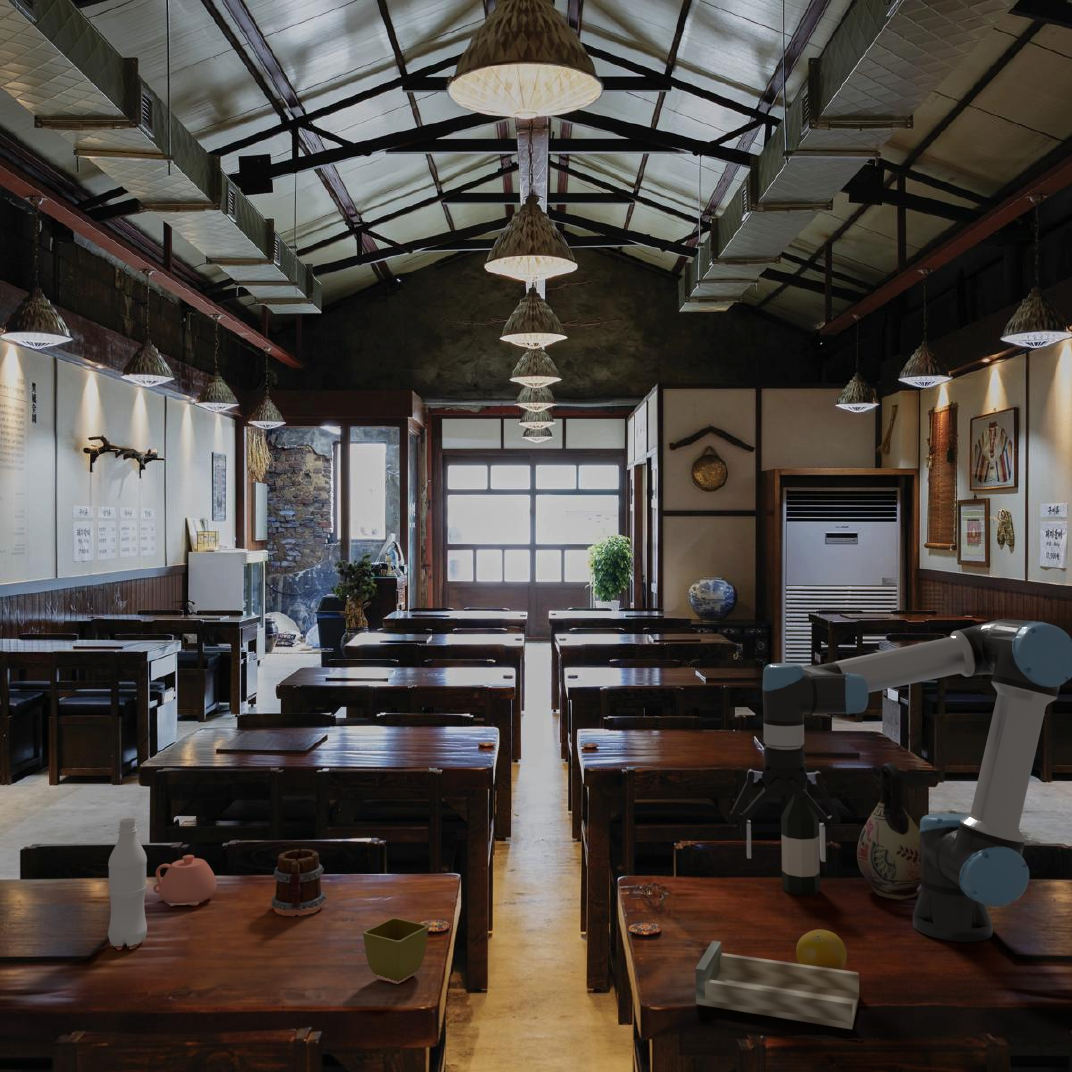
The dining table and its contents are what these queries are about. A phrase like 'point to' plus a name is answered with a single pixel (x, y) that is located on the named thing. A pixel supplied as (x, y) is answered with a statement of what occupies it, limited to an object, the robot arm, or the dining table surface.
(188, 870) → the sugar bowl
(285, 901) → the mug
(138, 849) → the water bottle
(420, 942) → the flower pot
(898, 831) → the ceramic jug
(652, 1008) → the dining table surface
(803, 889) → the wine bottle
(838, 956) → the fruit
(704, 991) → the channel
